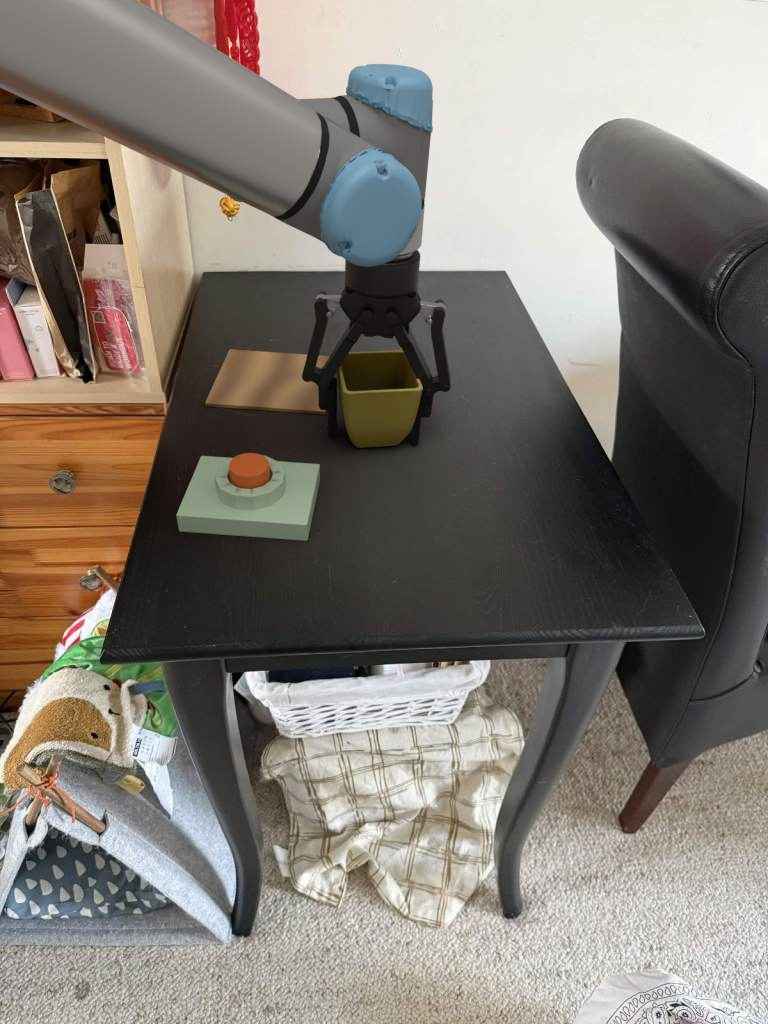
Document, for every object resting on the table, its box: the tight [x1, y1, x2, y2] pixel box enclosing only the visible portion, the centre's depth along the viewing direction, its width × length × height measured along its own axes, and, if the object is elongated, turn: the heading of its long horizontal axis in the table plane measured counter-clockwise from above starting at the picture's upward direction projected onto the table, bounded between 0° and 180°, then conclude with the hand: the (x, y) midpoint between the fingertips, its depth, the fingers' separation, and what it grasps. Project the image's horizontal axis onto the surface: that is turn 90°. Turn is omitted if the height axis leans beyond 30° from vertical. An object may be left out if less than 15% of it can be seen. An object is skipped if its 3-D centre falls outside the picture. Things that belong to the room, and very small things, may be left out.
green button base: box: [175, 454, 321, 542], centre depth 76 cm, size 13×10×4 cm
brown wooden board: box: [204, 348, 330, 415], centre depth 96 cm, size 15×14×1 cm
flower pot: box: [335, 349, 423, 449], centre depth 84 cm, size 9×9×9 cm
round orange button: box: [229, 452, 270, 489], centre depth 74 cm, size 4×4×2 cm
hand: (373, 434), depth 87 cm, fingers closed on flower pot, 9 cm apart
